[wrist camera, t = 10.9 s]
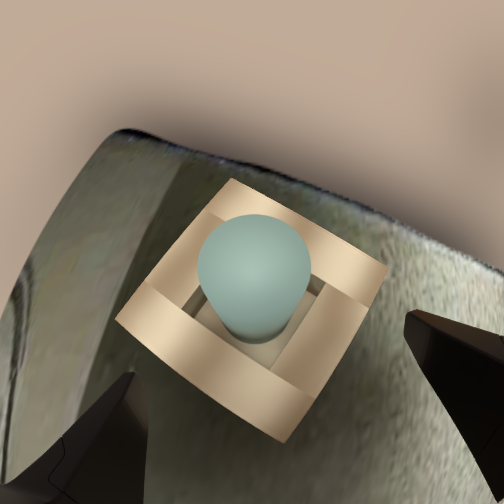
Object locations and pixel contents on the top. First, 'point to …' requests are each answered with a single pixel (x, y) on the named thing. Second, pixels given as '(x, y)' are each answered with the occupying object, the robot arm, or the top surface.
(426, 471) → the top surface
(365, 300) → the socket
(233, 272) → the peg
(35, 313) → the top surface
